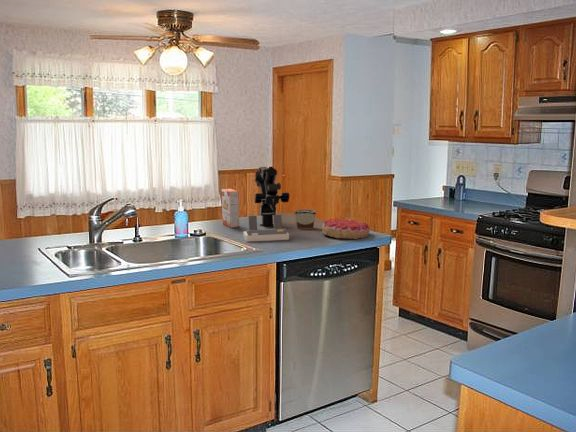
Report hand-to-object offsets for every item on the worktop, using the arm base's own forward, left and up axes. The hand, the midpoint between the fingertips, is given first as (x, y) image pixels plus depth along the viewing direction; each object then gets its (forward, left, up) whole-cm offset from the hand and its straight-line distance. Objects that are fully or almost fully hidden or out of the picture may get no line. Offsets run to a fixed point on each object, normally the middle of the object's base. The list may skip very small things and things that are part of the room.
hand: (273, 210), depth 293 cm
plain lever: (+6, -17, -9) cm, 20 cm away
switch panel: (+8, -11, -13) cm, 19 cm away
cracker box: (-33, -8, -13) cm, 36 cm away
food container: (-2, +23, -13) cm, 27 cm away
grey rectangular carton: (+11, -5, -9) cm, 15 cm away
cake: (+26, +27, -13) cm, 40 cm away
